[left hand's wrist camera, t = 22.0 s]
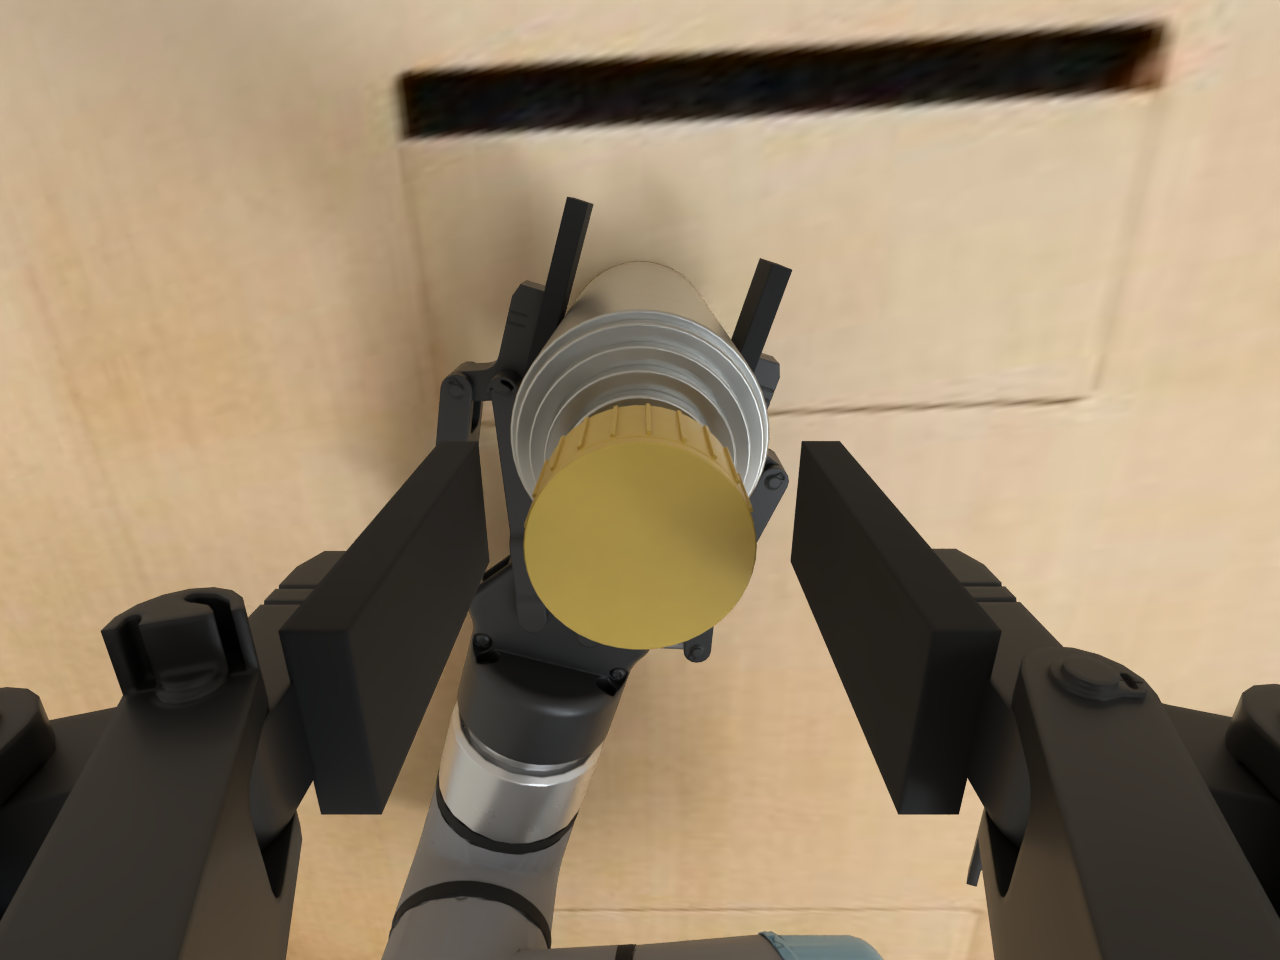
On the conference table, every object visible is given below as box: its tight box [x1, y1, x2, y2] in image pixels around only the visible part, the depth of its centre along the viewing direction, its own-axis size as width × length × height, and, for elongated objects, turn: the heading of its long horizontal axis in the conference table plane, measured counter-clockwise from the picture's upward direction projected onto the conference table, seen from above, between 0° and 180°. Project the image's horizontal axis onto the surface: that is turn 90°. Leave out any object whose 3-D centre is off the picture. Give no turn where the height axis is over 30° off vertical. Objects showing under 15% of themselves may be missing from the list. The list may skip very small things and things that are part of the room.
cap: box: [523, 403, 757, 649], centre depth 13 cm, size 4×4×2 cm
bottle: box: [511, 262, 769, 501], centre depth 22 cm, size 7×7×21 cm
